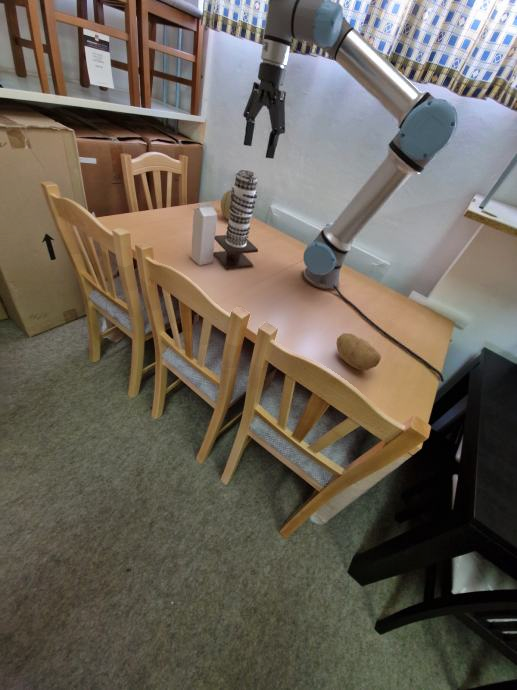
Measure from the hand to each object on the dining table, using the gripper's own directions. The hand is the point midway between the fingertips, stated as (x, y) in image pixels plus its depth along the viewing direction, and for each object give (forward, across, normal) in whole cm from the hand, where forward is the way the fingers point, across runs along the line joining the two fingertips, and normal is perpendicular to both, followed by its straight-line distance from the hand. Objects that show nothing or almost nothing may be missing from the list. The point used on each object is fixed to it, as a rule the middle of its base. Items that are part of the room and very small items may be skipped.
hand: (258, 151), depth 97 cm
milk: (+39, -2, -16) cm, 43 cm away
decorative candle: (+31, +1, -3) cm, 31 cm away
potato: (+40, +64, +3) cm, 75 cm away
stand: (+39, +1, -3) cm, 39 cm away
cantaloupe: (+39, -36, +18) cm, 56 cm away
